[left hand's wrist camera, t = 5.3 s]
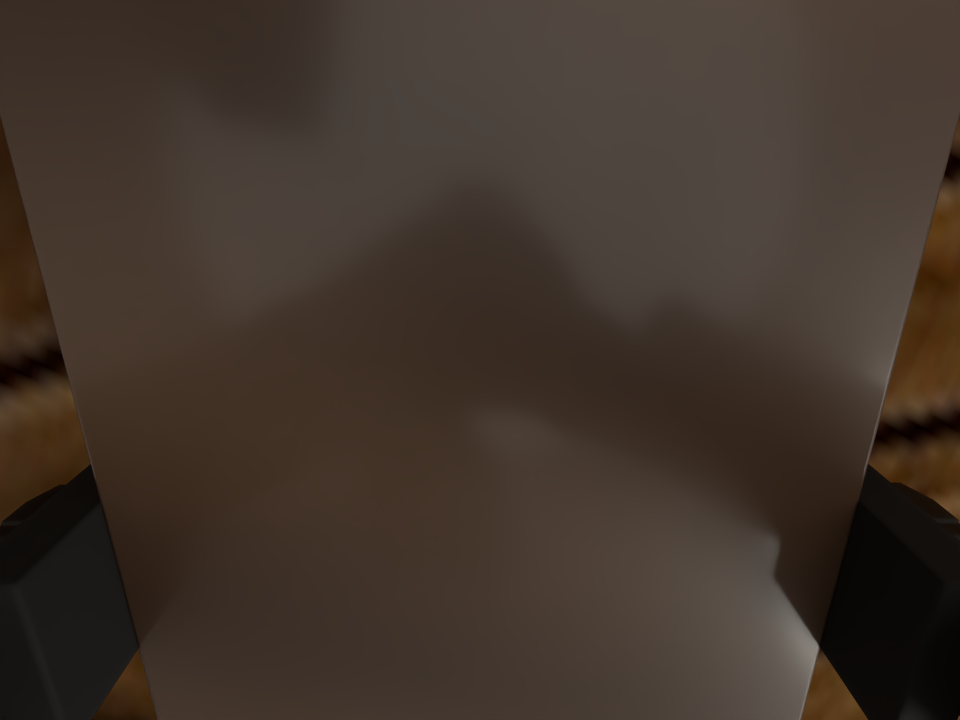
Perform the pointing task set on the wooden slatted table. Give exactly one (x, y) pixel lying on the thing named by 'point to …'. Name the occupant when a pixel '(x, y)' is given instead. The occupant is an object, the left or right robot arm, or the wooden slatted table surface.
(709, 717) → the cabinet
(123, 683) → the wooden slatted table surface
